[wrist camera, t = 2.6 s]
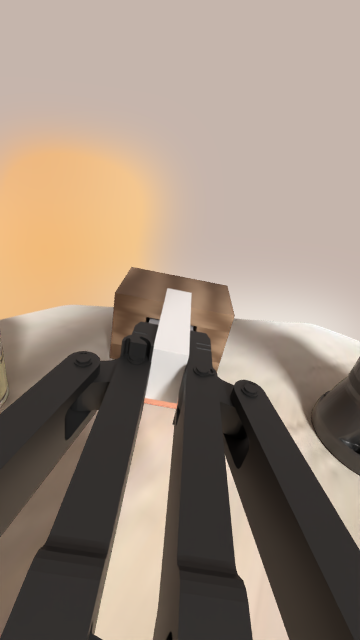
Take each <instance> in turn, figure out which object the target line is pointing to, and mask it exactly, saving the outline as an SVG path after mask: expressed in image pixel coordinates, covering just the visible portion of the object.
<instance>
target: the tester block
mask: <svg viewBox="0 0 360 640" xmlns="http://www.w3.org/2000/svg"><path fill="white" fill-rule="evenodd" d="M167 288H169V289H174V290H179V291H184V292H189V293H192V294H191V319H190V325H192V326H193V331H197V332H202V333H206V334H207V335H208V337H209V338H210V340H211V352H212V365H213V368H214V369H215V370H216V373H217V370H218V366H219V363H220V360H221V357H222V354H223V351H224V348H225V344H226V341H227V338H228V335H229V332H230V329H231V325H232V322H233V319H234V316H235V315H234V311H233V307H232V304H231V299H230V295H229V291H228V287H227V286H226V285H220V284H215V283H210V282H205V281H200V280H195V279H190V278H185V277H180V276H175V275H169V274H165V273H159V272H154V271H149V270H144V269H139V268H133V267H131V269H130V270H129V272H128V274H127V275H126V277H125V278H124V280H123V281H122V283H121V285H120V286H119V287H118V289H117V291H116V292H115V300H114V312H113V324H112V336H111V349H110V358H113V359H118V358H120V354H121V345H122V340H123V338H124V337H126V336H128V335H132V332H133V330H134V327H135V325H136V324H138V323H139V322H147V323H149V320H150V318H155V319H160V317H161V313H162V309H163V305H164V301H165V296H166V292H167Z"/></svg>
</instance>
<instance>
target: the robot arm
mask: <svg viewBox="0 0 360 640" xmlns="http://www.w3.org/2000/svg"><path fill="white" fill-rule="evenodd" d="M191 294H192V293H189V292H184V291H179V290H174V289H169V288H167V292H166V296H165V301H164V305H163V309H162V313H161V317H160V322H159V325H157V324H152V323H147V322H139V323H138V324H136V325H135V327H134V330H133V332H132V335H128V336H126V337H124V338H123V340H122V345H121V354H120V358H118V359H115V360H111V361H100V358H99V357H98V356H97V355H96V354H94V353H92V352H87V351H80V352H76V353H73V354H71V355H69V356H68V357H67V358H66V359H64V360H63V361H62V362H61V363H60V364H59V365H57V366H56V367H55V368H54V369H53V370H51V371H50V372H49V373H48V374H47V375H46V376H44V377H43V378H42V379H41V380H40V381H38V382H37V383H36V384H35V385H34V386H33V387H31V388H30V389H29V390H28V391H27V392H26V393H24V394H23V395H22V396H21V397H20V398H18V399H17V400H16V401H15V402H14V403H13V404H11V405H10V406H9V407H8V408H7V409H5V410H4V411H3V412H2V413H1V414H0V537H1V535H2V534H3V533H4V532H5V530H6V529H7V528H8V526H9V525H10V524H11V522H12V521H13V520H14V519H15V517H16V516H17V515H18V513H19V512H20V511H21V509H22V508H23V507H24V506H25V504H26V503H27V502H28V500H29V499H30V498H31V496H32V495H33V494H34V493H35V491H36V490H37V489H38V487H39V486H40V485H41V483H42V482H43V481H44V480H45V478H46V477H47V476H48V474H49V473H50V472H51V470H52V469H53V468H54V467H55V465H56V464H57V463H58V461H59V460H60V459H61V457H62V456H63V455H64V453H65V452H66V451H67V450H68V448H69V447H70V446H71V444H72V443H73V442H74V440H75V439H76V438H77V437H78V435H79V434H80V433H81V431H82V430H83V429H84V427H85V426H86V425H87V424H88V422H89V421H90V420H91V418H92V417H93V416H94V414H95V413H96V411H97V410H99V411H98V414H97V416H96V419H95V421H94V424H93V426H92V429H91V431H90V434H89V436H88V439H87V441H86V444H85V446H84V449H83V451H82V454H81V456H80V459H79V461H78V464H77V467H76V469H75V472H74V474H73V477H72V479H71V482H70V484H69V487H68V489H67V492H66V494H65V497H64V499H63V502H62V504H61V507H60V509H59V512H58V514H57V517H56V519H55V522H54V524H53V527H52V529H51V532H50V534H49V537H48V539H47V541H46V543H45V545H44V546H43V547H41V548H40V549H39V550H38V552H37V554H36V555H35V557H34V559H33V561H32V564H31V566H30V568H29V570H28V573H27V575H26V577H25V580H24V582H23V585H22V587H21V589H20V592H19V594H18V597H17V599H16V602H15V604H14V606H13V609H12V611H11V614H10V616H9V618H8V621H7V623H6V626H5V628H4V631H3V633H2V635H1V638H0V640H102V639H100V638H99V637H97V636H95V635H94V633H95V628H96V623H97V618H98V613H99V608H100V603H101V598H102V593H103V589H104V584H105V580H106V575H107V570H108V566H109V561H110V557H111V552H112V547H113V543H114V538H115V534H116V529H117V525H118V520H119V515H120V511H121V506H122V502H123V497H124V492H125V488H126V483H127V479H128V474H129V470H130V465H131V460H132V456H133V451H134V447H135V442H136V437H137V433H138V428H139V424H140V419H141V415H142V410H143V405H144V399H145V398H148V399H154V400H159V401H165V402H170V403H176V404H177V401H178V405H177V409H176V413H175V416H174V420H173V425H174V435H173V446H172V458H171V469H170V480H169V491H168V503H167V514H166V525H165V536H164V548H163V559H162V570H161V581H160V593H159V603H158V611H157V618H156V623H155V629H154V636H153V640H253V639H252V630H251V622H250V613H249V605H248V598H247V592H246V588H245V585H244V582H243V580H242V579H241V578H240V577H239V575H238V574H237V571H236V566H235V557H234V547H233V536H232V526H231V515H230V505H229V494H228V484H227V473H226V463H225V456H226V459H227V462H228V465H229V467H230V470H231V473H232V476H233V479H234V482H235V485H236V488H237V490H238V493H239V496H240V499H241V502H242V505H243V508H244V511H245V513H246V516H247V519H248V522H249V525H250V528H251V531H252V534H253V536H254V539H255V542H256V545H257V548H258V551H259V554H260V557H261V559H262V562H263V565H264V568H265V571H266V574H267V577H268V580H269V582H270V585H271V588H272V591H273V594H274V597H275V600H276V603H277V605H278V608H279V611H280V614H281V617H282V620H283V623H284V626H285V628H286V631H287V634H288V637H289V640H360V550H359V548H358V547H357V545H356V543H355V542H354V540H353V538H352V537H351V535H350V533H349V532H348V530H347V528H346V527H345V525H344V523H343V522H342V520H341V518H340V517H339V515H338V513H337V512H336V510H335V508H334V507H333V505H332V503H331V502H330V500H329V498H328V497H327V495H326V493H325V492H324V490H323V488H322V487H321V485H320V483H319V482H318V480H317V478H316V477H315V475H314V473H313V472H312V470H311V468H310V467H309V465H308V463H307V462H306V460H305V458H304V457H303V455H302V453H301V452H300V450H299V448H298V447H297V445H296V443H295V442H294V440H293V438H292V437H291V435H290V433H289V432H288V430H287V428H286V427H285V425H284V423H283V422H282V420H281V418H280V417H279V415H278V413H277V412H276V410H275V408H274V407H273V405H272V403H271V402H270V400H269V398H268V397H267V395H266V393H265V392H264V390H263V389H262V388H261V387H260V386H259V385H257V384H256V383H253V382H251V381H247V380H240V381H237V382H236V383H235V385H232V384H230V383H227V382H225V381H223V380H221V379H220V378H219V377H218V376H217V373H216V370H215V369H214V368H213V365H212V352H211V340H210V338H209V337H208V335H207V334H206V333H202V332H197V331H192V330H190V319H191ZM312 423H313V426H314V429H315V431H316V433H317V435H318V436H319V438H320V440H321V441H322V442H323V444H324V445H325V446H326V447H327V449H328V450H329V451H330V452H331V453H332V454H333V455H334V456H335V457H336V458H337V459H338V460H340V461H341V462H342V463H343V464H344V465H346V466H347V467H348V468H350V469H351V470H353V471H354V472H356V473H357V474H359V475H360V357H359V359H358V360H357V362H356V364H355V365H354V367H353V369H352V370H351V372H350V373H349V375H348V376H347V377H346V378H345V379H344V380H342V381H341V382H340V383H339V384H337V385H336V386H335V387H334V388H333V389H332V390H331V391H328V392H326V393H325V394H323V395H322V396H321V397H320V398H319V399H318V401H317V403H316V405H315V406H314V408H313V410H312Z"/></svg>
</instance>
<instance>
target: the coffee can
mask: <svg viewBox="0 0 360 640" xmlns="http://www.w3.org/2000/svg"><path fill="white" fill-rule="evenodd" d="M8 392H9V387H8V383H7V378H6V370H5V363H4V355H3V348H2V340H1V333H0V407H1V406H2V405H3V403H4V402H5V400H6V398H7V396H8Z"/></svg>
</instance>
